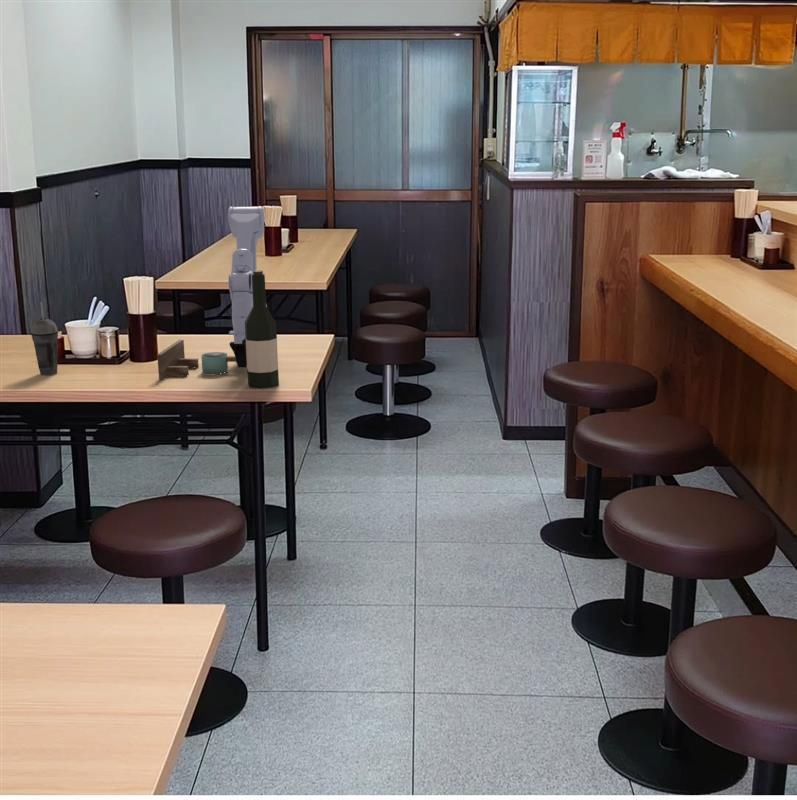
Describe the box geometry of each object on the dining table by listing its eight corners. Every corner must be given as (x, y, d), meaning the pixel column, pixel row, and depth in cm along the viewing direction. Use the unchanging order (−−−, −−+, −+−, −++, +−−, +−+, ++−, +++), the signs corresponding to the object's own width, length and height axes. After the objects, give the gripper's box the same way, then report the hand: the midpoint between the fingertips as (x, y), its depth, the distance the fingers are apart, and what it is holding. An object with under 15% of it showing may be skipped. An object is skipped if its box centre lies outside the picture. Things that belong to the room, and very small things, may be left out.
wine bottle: (251, 380, 270) (246, 268, 263) (282, 381, 269) (277, 268, 262) (243, 388, 262) (237, 273, 255) (275, 388, 261) (270, 273, 254)
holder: (203, 363, 291) (201, 339, 289) (182, 380, 272) (180, 354, 270) (181, 363, 292) (179, 339, 290) (159, 379, 272) (157, 354, 270)
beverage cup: (35, 377, 276) (27, 305, 271) (34, 372, 283) (26, 301, 278) (63, 375, 279) (56, 303, 274) (61, 369, 286) (54, 299, 280)
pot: (199, 374, 278) (198, 357, 276) (206, 369, 284) (205, 351, 283) (249, 375, 276) (248, 357, 275) (255, 369, 283) (254, 352, 282)
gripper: (235, 311, 283) (237, 358, 287) (221, 320, 269) (224, 370, 273) (259, 311, 283) (262, 358, 286) (247, 320, 269) (250, 370, 272)
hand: (245, 364), depth 279 cm, fingers open, 7 cm apart
